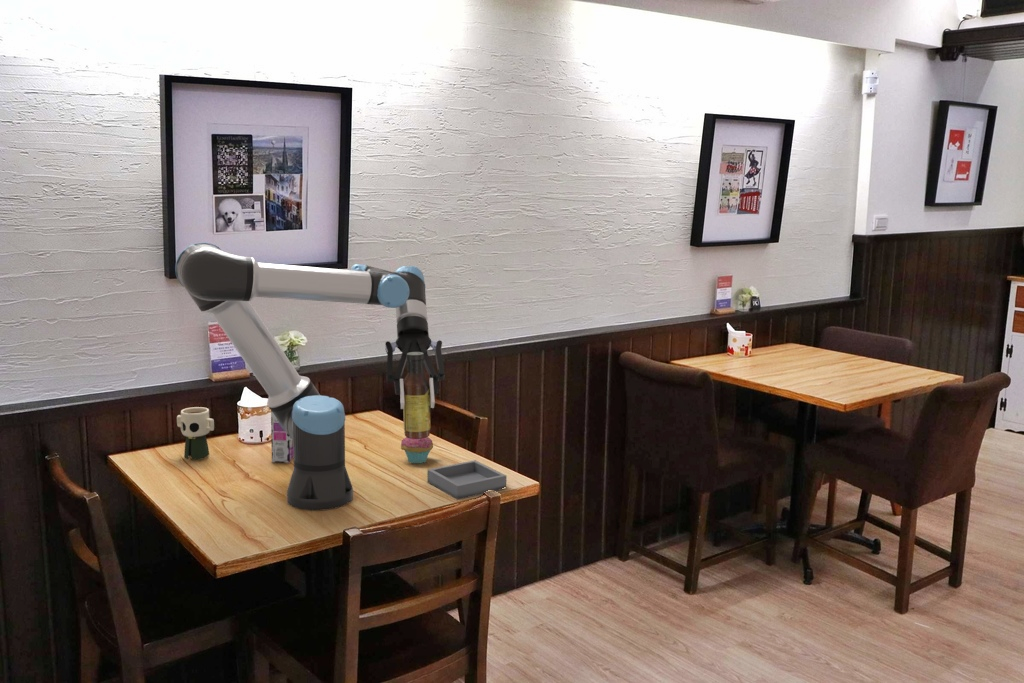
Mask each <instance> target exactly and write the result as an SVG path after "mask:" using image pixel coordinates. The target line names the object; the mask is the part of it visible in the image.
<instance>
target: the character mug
mask: <svg viewBox="0 0 1024 683" xmlns="http://www.w3.org/2000/svg"><path fill="white" fill-rule="evenodd" d="M176 425H177V427H178V428H180V431H181V434H182V435H183V436H184V437H186V438H185V442H184V443H185V444H184V454H183V455H184V459H187V460H189V457H191V458H190V459H191V460H193V461H194V460H203V459H205V458H207V457H208V456H210V451H209V450H210V449H209V445H208V440H207V439H208V438H207V436H206V435H208V434H209V433H210V432H212V431H214V430H215V420H214V418H210V409H209V408H207V407H202V406H200V407H199V406H194V407H193V406H192V407H186V408H183V409H181V410H180V414H178V415H177V416H176Z"/></svg>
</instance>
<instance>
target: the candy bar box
mask: <svg viewBox="0 0 1024 683" xmlns="http://www.w3.org/2000/svg"><path fill="white" fill-rule="evenodd" d="M270 425H271V426H270V427H271V430H270V432H271V433H270V436H271V437H270V438H271V463H273V464H290V463H291V462H292V460H293V459H294V450H293V440H292V439H291V437H290V436H289V435H288V433H287V432H285V431H284V430H283V428H282V427H281V426H280V424H279V422H278V420H277V418H276V417H275V415H274V414H273V412H272V411H271V410H270Z"/></svg>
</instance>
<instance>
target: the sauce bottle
mask: <svg viewBox="0 0 1024 683" xmlns="http://www.w3.org/2000/svg"><path fill="white" fill-rule="evenodd" d="M406 357H407V372H406V375H405V377H404V378H403V385H404V409H402V410H403V411H402V412H403V430H404V437H405V438H406V437H407V438H411V439H422V438H426V437H429V436H430V435H431V404H430V388H429V381H428V378H427V376H426V373H425V369H424V368H425V366H424V364H423V360H424V353H422V352H409V353H407V356H406Z"/></svg>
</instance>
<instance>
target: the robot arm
mask: <svg viewBox="0 0 1024 683" xmlns="http://www.w3.org/2000/svg"><path fill="white" fill-rule="evenodd" d="M174 267H175V268H174V270H175V276H176V279H177V281H178V283H179V284H180V286H182V287H183V288H184V289H185V290H186V292H187V293H188V295H189V296H190V297H191V299H192V301H193V302H194V303H195V305H196V306H197V308H198V309H199V310H200V312H202V313H205V314H209V315H212V317H213V318H214V320H215V321H216V322H217V324H218V325H219V327H220V329H222V331H223V333H224V334H225V336H226V337H227V338H228V340H229V342H230V343H232V345H233V347H234V348H235V350H236V351H237V352H238V354H239V355H240V357H241V358H242V360H243V361H244V363H245V364H246V365H247V367H248V368H249V370H250V371H251V373H252V374H253V375H254V376H255V379H256V380H257V381H258V383H259V384H260V385H261V387H262V388H263V389H264V391H265V393H266V394H267V396H268V398H267V403H266V405H267V407H268V408H269V409H270V412H271V411H272V412H273V414H274V415H275V417H276V418H277V420H278V422H279V424H280V426H281V427H282V428H283V430H284V431H285V432H287V433H288V435H289V436H290V437H291V439H292V440H293V450H294V457H293V470H292V474H291V477H290V480H289V483H288V487H287V490H286V502H287V505H289V506H291V507H293V508H295V509H298V510H303V511H304V510H305V511H327V510H328V511H329V510H333V509H337V508H340V507H344V506H345V505H348V504H349V503H351V502H352V501H353V499H354V488H353V484H352V481H351V479H350V476H349V473H348V470H347V468H346V434H345V433H346V432H345V430H346V427H345V423H346V413H345V407H344V405H343V403H342V402H341V401H340V400H339V399H336V398H335V397H330V396H328V395H321V394H320V393H319V391H318V389H317V388H316V386H315V385H314V384H313V382H312V381H311V379H310V378H309V377H308V376H303V375H300V374H299V373H298V371H297V370H296V368H295V367H294V365H293V364H292V363H291V360H290V359H289V357H288V356H287V355H286V354H285V352H284V350H283V349H282V348H281V346H280V345H279V343H278V341H277V340H276V339H275V336H273V334H272V333H271V331H270V330H269V329H268V328H269V327H267V325H266V324H265V323H264V321H263V319H262V318H261V316H260V315H259V313H258V311H256V309H255V307H254V306H253V305H252V303H251V301H252V300H253V299H254V298H265V299H266V298H267V299H281V300H282V299H284V300H299V301H314V302H327V303H329V302H330V303H331V302H332V303H345V304H346V303H348V304H349V303H350V304H362V305H364V304H365V305H372V306H373V305H374V306H383V307H385V308H390V309H395V315H396V316H395V317H396V334H397V335H396V336H397V338H396V340H395V341H393V342H391V341H386V342H385V346H384V347H385V350H384V351H385V352H386V355H387V363H386V382H388V383H393V385H394V393H395V396H399V397H400V399H399V400H400V401H399V402H400V410H403V409H404V385H403V381H404V378H402V376H403V374H404V369H405V367H406V365H407V363H408V361H407V357H406V356H407V353H409V352H422V353H424V360H423V364H424V368H425V370H426V372H427V374H428V376H429V379H428V380H429V381H428V384H429V388H430V409H434V408H435V403H436V401H435V395H438V393H439V381H441V382H442V381H444V380H445V376H446V370H445V364H444V360H443V355H442V354H443V352H442V346H443V342H442V340H440V339H439V340H438V341H434V340H432V338H430V335H429V323H428V321H429V320H428V309H427V298H426V283H425V276H424V273H423V271H422V270H421V269H420V267H419V268H418V267H417V266H414V265H408V266H406V265H405V266H404V265H403V266H400V267H398V268H397V269H396V270H395V271H391V270H390V271H389V270H386V269H382V268H379V267H375V266H374V267H373V266H370V265H367V264H359V263H355V264H353V265H352V266H351V268H350V269H341V268H339V269H338V268H328V267H316V266H305V265H304V266H303V265H295V264H294V265H293V264H279V263H268V262H259V261H256V259H255V258H254V257H251V256H243V255H236V254H235V253H234V254H233V253H230V252H227V251H224V250H222V249H221V247H219V246H217V245H216V244H212V243H210V242H197V243H193V244H191V245H189V246H187V247H185V248H184V249H183V250H182V251H181V252H180V253H179V255H178V257H177V258H176V261H175V266H174ZM430 347H431V348H432V351H433V352H434V356H435V362H436V368H437V371H436V368H435V367H434V365H433V363H432V360H431V358H430V356H429V354H428V350H429V349H430ZM396 348H397V349H398V350H399V351H400V352H401V357H400V359H399V362H398V366H397V368H396V371H395V374H393V363H394V362H393V361H394V360H393V357H394V352H395V350H396Z"/></svg>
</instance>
